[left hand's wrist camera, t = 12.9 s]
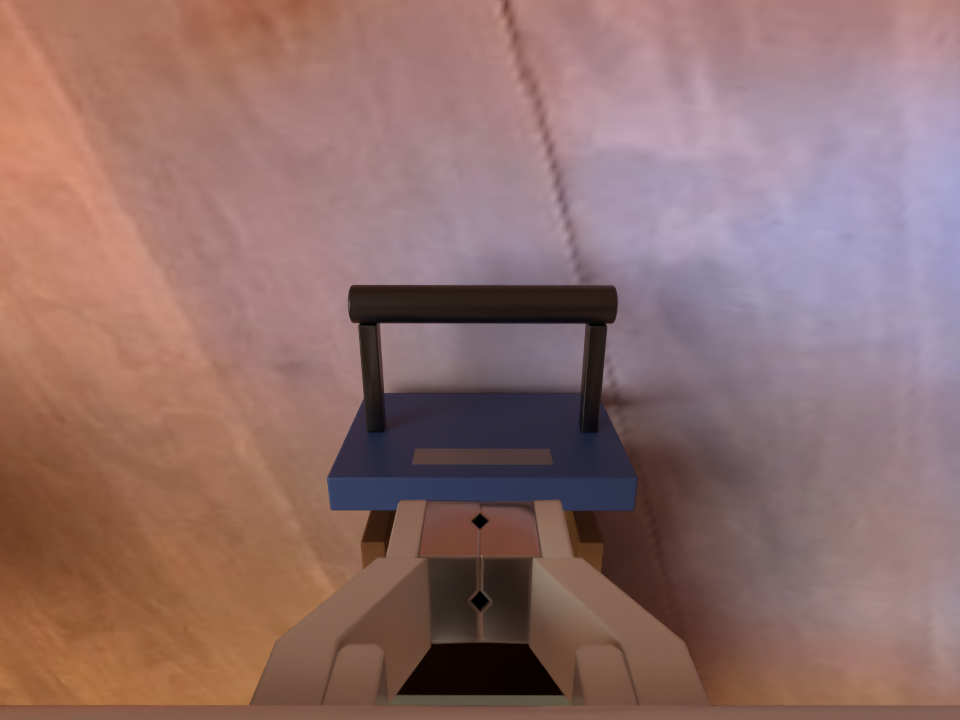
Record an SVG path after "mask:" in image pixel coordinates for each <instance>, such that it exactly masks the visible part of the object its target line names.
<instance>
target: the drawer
mask: <svg viewBox="0 0 960 720" xmlns="http://www.w3.org/2000/svg"><path fill="white" fill-rule="evenodd" d="M617 308H618V297H617V291H616V288H615V287H614V286H612V285H352V286H351V287H350V290H349V295H348V311H349V316H350V319H351V322H353V323H360V324H359V326H358V329H359V341H360V354H361V366H362V379H363V391H364V399H363V401H362V404H361V406H360V408H359V410H358V412H357V414H356V417H355V419H354V421H353V423H352V425H351V427H350V430H349V432H348V434H347V436H346V438H345V440H344V443H343V445H342V447H341V449H340V451H339V453H338V456H337V458H336V460H335V462H334V464H333V466H332V469H331V471H330V473H329V475H328V477H327V482H328V491H329V500H330V508H331V510H371V511H370V514H369V517H368V521H367V524H366V527H365V531H364V534H363V537H362V540H361V552H362V563H363V569H365V568H366V567H367V566H368V565H369V564H371V563H372V562H373V561H374V560H376V559H377V558H386V554H387V550H388V546H389V541H390V537H391V533H392V528H393V524H394V520H395V515H396V511H397V507H398V503H399V502H400V501H401V500H427V501H428V500H457V501H480V502H491V501H533V500H557V499H559V500H560V501H561V503H562V507H563V511H564V516H565V520H566V524H567V529H568V533H569V537H570V541H571V546H572V550H573V554H574V558H583V559H585V560H586V561H587V562H588V563H589V564H591V565H592V566H593V567H594V568H595V569H597V570H598V571H599V572H600V573H601V571H602V560H603V550H604V541H603V538H602V535H601V532H600V528H599V525H598V522H597V519H596V516H595V512H594V511H634V509H635V502H636V493H637V485H638V477H637V475H636V473H635V471H634V469H633V467H632V465H631V462H630V460H629V458H628V456H627V454H626V452H625V450H624V448H623V445H622V443H621V441H620V439H619V437H618V435H617V433H616V431H615V429H614V426H613V424H612V422H611V420H610V418H609V416H608V414H607V412H606V410H605V407H604V405H603V403H602V401H601V392H602V381H603V369H604V358H605V346H606V335H607V325H606V324H612V323H614V321H615V319H616V315H617ZM380 323H527V324H586V328H585V342H584V356H583V370H582V383H581V394H563V393H384V383H383V368H382V353H381V338H380ZM396 695H564V694H563V692H562V691H561V690H560V688H559V687H558V685H557V684H556V683H555V681H554V680H553V679H552V677H551V676H550V674H549V673H548V672H547V670H546V669H545V668H544V666H543V665H542V663H541V662H540V661H539V659H538V658H537V657H536V655H535V654H534V652H533V651H532V650H531V648H530V647H529V644H511V643H448V644H431V648H430V649H429V650H428V652H427V653H426V654H425V656H424V657H423V659H422V660H421V661H420V663H419V664H418V665H417V667H416V668H415V669H414V671H413V672H412V674H411V675H410V676H409V678H408V679H407V680H406V682H405V683H404V685H403V686H402V687H401V689H400V690H399V691H398V693H397V694H396Z"/></svg>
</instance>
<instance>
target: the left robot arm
mask: <svg viewBox="0 0 960 720" xmlns="http://www.w3.org/2000/svg"><path fill="white" fill-rule="evenodd" d="M448 643H511V644H529V647H530V648H531V650H532V651H533V652H534V654H535V655H536V657H537V658H538V659H539V661H540V662H541V663H542V665H543V666H544V668H545V669H546V670H547V672H548V673H549V674H550V676H551V677H552V679H553V680H554V681H555V683H556V684H557V685H558V687H559V688H560V690H561V691H562V692H563V694H564V695H565V697H566V698H567V699H568V701H569V702H570V703H571V705H389V704H390V702H391V701H392V700H393V698H394V697H395V696H396V694H397V693H398V691H399V690H400V689H401V687H402V686H403V685H404V683H405V682H406V680H407V679H408V678H409V676H410V675H411V674H412V672H413V671H414V669H415V668H416V667H417V665H418V664H419V663H420V661H421V660H422V659H423V657H424V656H425V654H426V653H427V652H428V650H429V649H430V648H431V644H448ZM0 720H960V705H711V704H710V702H709V700H708V697H707V695H706V692H705V690H704V687H703V685H702V683H701V680H700V678H699V675H698V673H697V670H696V668H695V666H694V663H693V661H692V658H691V656H690V653H689V651H688V649H687V646H686V644H685V642H684V641H683V640H682V639H680V638H679V637H678V636H677V635H676V634H674V633H673V632H672V631H671V630H670V629H668V628H667V627H666V626H665V625H663V624H662V623H661V622H660V621H659V620H657V619H656V618H655V617H654V616H653V615H651V614H650V613H649V612H648V611H646V610H645V609H644V608H643V607H642V606H640V605H639V604H638V603H637V602H636V601H634V600H633V599H632V598H631V597H629V596H628V595H627V594H626V593H625V592H623V591H622V590H621V589H620V588H619V587H617V586H616V585H615V584H614V583H612V582H611V581H610V580H609V579H608V578H606V577H605V576H604V575H603V574H602V573H600V572H599V571H598V570H597V569H595V568H594V567H593V566H592V565H591V564H589V563H588V562H587V561H586V560H585V559H583V558H574V554H573V550H572V546H571V541H570V537H569V533H568V529H567V524H566V520H565V516H564V511H563V507H562V503H561V501H560V500H559V499H557V500H533V501H491V502H480V501H457V500H428V501H427V500H401V501H400V502H399V503H398V507H397V511H396V515H395V520H394V524H393V528H392V533H391V537H390V541H389V546H388V550H387V554H386V558H377V559H376V560H374V561H373V562H372V563H371V564H369V565H368V566H367V567H366V568H365V569H363V570H362V571H361V572H360V573H358V574H357V575H356V576H355V577H354V578H352V579H351V580H350V581H349V582H347V583H346V584H345V585H344V586H343V587H341V588H340V589H339V590H338V591H336V592H335V593H334V594H333V595H332V596H330V597H329V598H328V599H327V600H325V601H324V602H323V603H322V604H321V605H319V606H318V607H317V608H316V609H314V610H313V611H312V612H311V613H310V614H308V615H307V616H306V617H305V618H304V619H302V620H301V621H300V622H299V623H297V624H296V625H295V626H294V627H293V628H291V629H290V630H289V631H288V632H286V633H285V634H284V635H283V636H282V637H280V638H279V639H278V640H277V641H276V642H275V644H274V647H273V649H272V652H271V654H270V656H269V659H268V661H267V664H266V666H265V668H264V671H263V673H262V676H261V678H260V680H259V683H258V685H257V688H256V690H255V692H254V695H253V697H252V700H251V702H250V704H249V705H0Z"/></svg>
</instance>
